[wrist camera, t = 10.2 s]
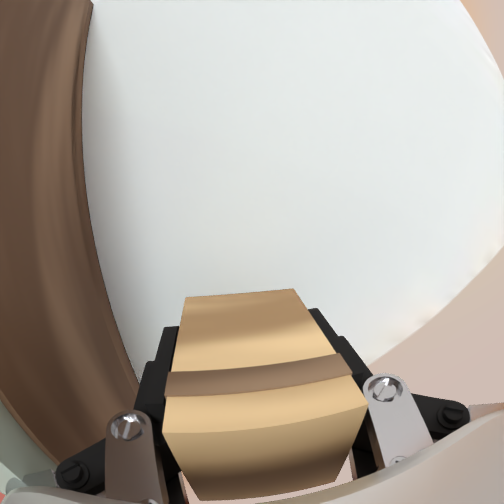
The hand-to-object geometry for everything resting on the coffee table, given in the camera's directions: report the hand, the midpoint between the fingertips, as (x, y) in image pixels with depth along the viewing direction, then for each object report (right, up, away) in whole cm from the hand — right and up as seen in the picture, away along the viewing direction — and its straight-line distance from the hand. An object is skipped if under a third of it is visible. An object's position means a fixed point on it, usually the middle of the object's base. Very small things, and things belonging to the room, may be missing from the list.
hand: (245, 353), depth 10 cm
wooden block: (0, 0, +1) cm, 1 cm away
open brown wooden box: (-14, +5, 0) cm, 15 cm away
